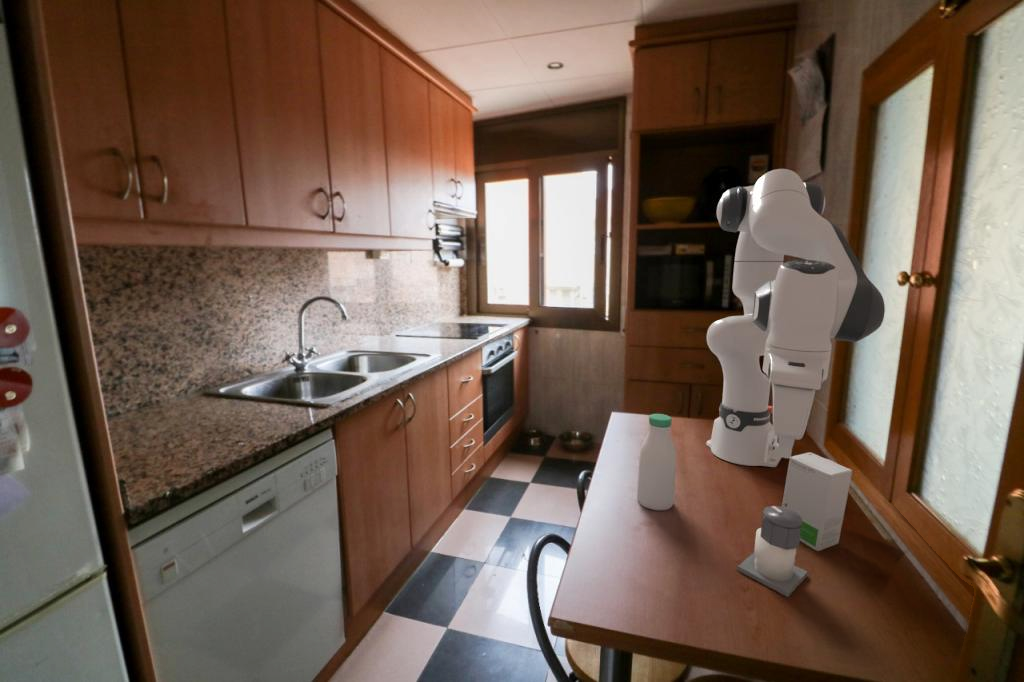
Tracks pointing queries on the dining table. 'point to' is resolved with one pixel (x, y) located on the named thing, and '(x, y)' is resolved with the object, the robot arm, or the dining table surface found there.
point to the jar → (773, 566)
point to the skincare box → (817, 498)
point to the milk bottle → (657, 465)
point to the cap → (781, 527)
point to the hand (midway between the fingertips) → (784, 445)
